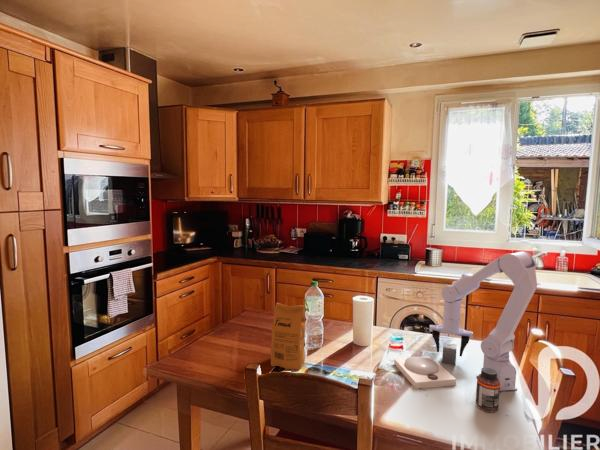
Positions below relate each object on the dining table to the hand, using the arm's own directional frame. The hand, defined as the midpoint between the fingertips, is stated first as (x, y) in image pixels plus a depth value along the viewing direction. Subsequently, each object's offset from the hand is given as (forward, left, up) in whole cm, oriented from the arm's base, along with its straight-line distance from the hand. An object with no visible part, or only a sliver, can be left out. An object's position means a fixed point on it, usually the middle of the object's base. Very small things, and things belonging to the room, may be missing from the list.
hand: (449, 353), depth 131 cm
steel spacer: (0, 0, -3) cm, 3 cm away
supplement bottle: (-27, +5, -3) cm, 28 cm away
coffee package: (+7, +59, -3) cm, 60 cm away
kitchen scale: (-7, +14, -3) cm, 16 cm away
